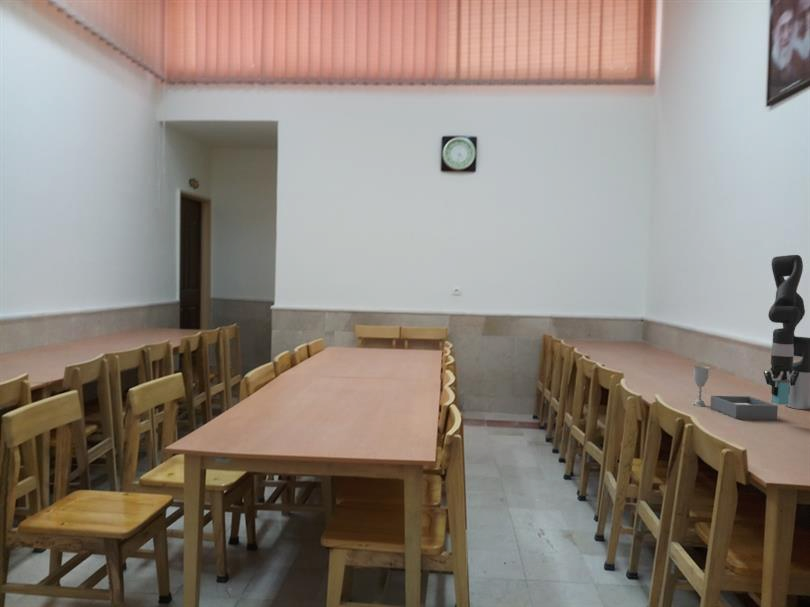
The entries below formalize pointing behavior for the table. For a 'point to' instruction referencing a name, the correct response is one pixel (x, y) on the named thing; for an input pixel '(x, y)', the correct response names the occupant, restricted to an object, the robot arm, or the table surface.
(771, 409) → the walled box
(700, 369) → the chalice
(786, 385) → the peg
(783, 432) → the table surface
